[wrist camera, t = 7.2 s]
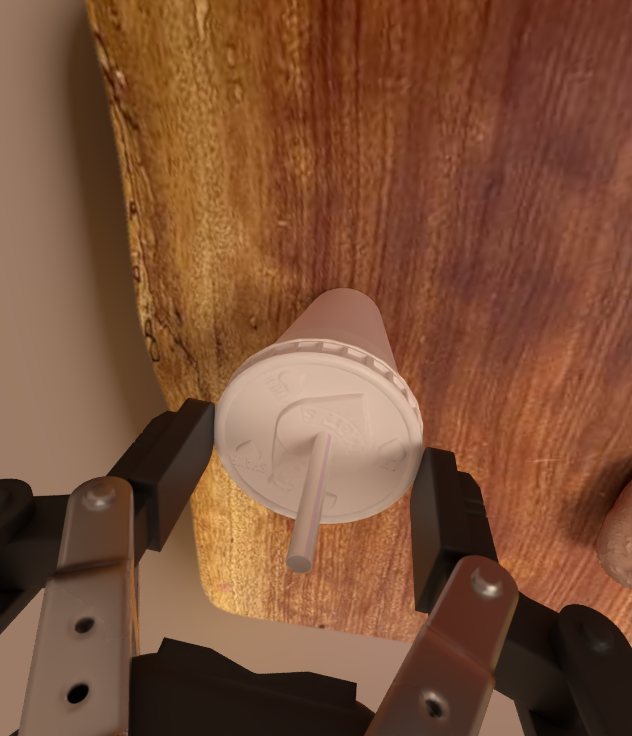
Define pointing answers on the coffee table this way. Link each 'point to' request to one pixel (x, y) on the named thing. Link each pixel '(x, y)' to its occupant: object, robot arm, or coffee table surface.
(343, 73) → the coffee table surface
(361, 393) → the smoothie
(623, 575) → the mushroom
